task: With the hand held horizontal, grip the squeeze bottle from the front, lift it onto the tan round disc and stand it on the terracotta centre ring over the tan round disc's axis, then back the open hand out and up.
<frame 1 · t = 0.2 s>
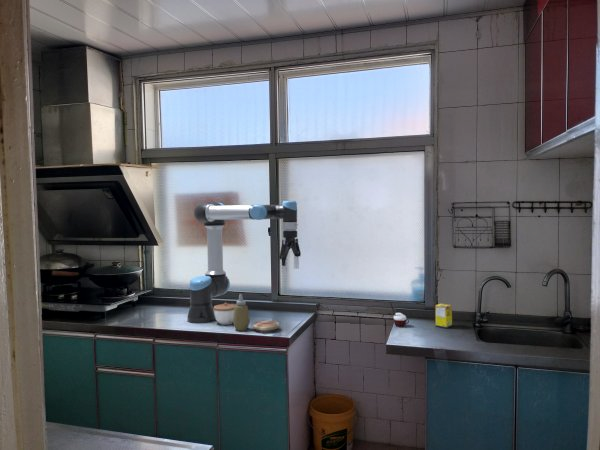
hand: (290, 270, 240), 28 cm above the countertop, tool pointing down, fingers open, 13 cm apart
cocoa: (399, 326, 230), on the countertop
lidded bowl: (226, 323, 242), on the countertop
squeeze bottle: (241, 329, 228), on the countertop
supplement box: (443, 326, 227), on the countertop
tan round disc: (266, 326, 227), point 2 cm above the countertop, hinge at 0.0°
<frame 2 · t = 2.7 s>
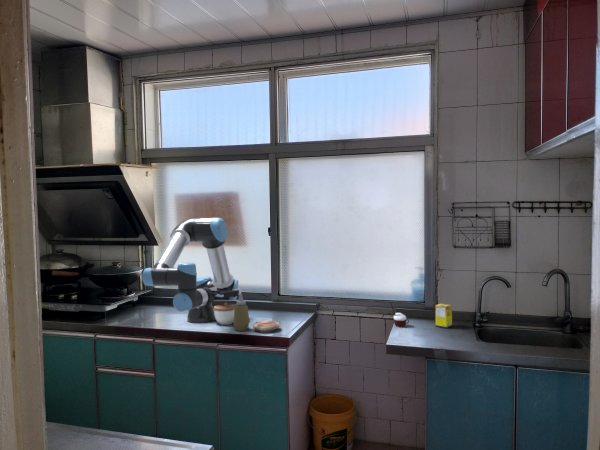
hand: (228, 290, 217), 22 cm above the countertop, tool horizontal, fingers open, 13 cm apart
nothing on the countertop moved.
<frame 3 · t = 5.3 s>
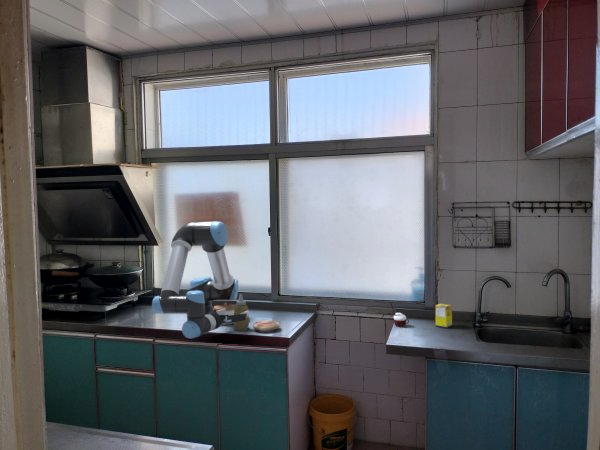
hand: (236, 312, 224), 10 cm above the countertop, tool horizontal, fingers open, 13 cm apart
nothing on the countertop moved.
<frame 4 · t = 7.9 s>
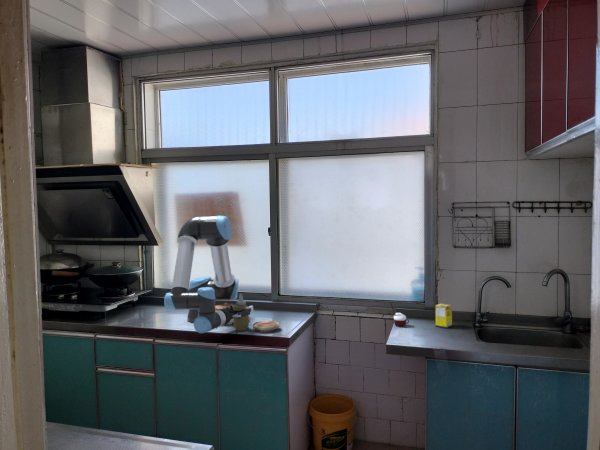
hand: (246, 307, 232), 10 cm above the countertop, tool horizontal, fingers closed on squeeze bottle, 6 cm apart
squeeze bottle: (241, 329, 228), on the countertop, touching gripper
everything else where it was.
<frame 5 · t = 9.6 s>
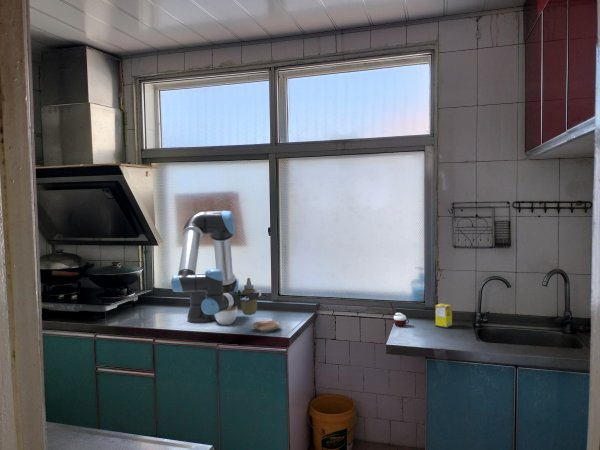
hand: (254, 292, 231), 18 cm above the countertop, tool horizontal, fingers closed on squeeze bottle, 6 cm apart
squeeze bottle: (249, 314, 226), point 8 cm above the countertop, touching gripper
everything else where it was.
when the fingers open (14 cm above the countertop, at t = 11.7 s): squeeze bottle drops 1 cm, resting on tan round disc.
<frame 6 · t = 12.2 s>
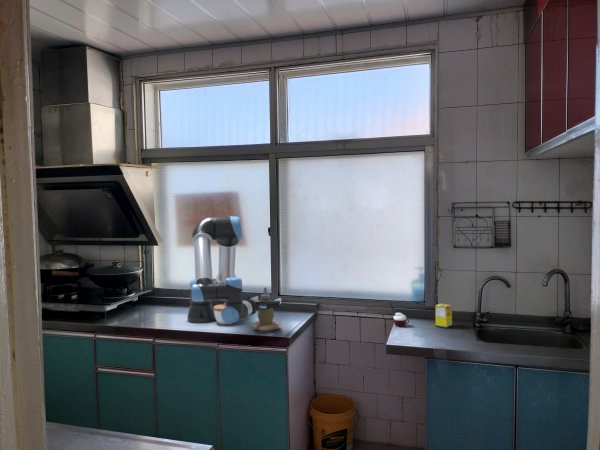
hand: (269, 299, 229), 14 cm above the countertop, tool horizontal, fingers open, 13 cm apart
squeeze bottle: (266, 323, 226), point 3 cm above the countertop, touching tan round disc
tan round disc: (266, 326, 227), point 2 cm above the countertop, hinge at 0.0°, touching squeeze bottle
everything else where it was.
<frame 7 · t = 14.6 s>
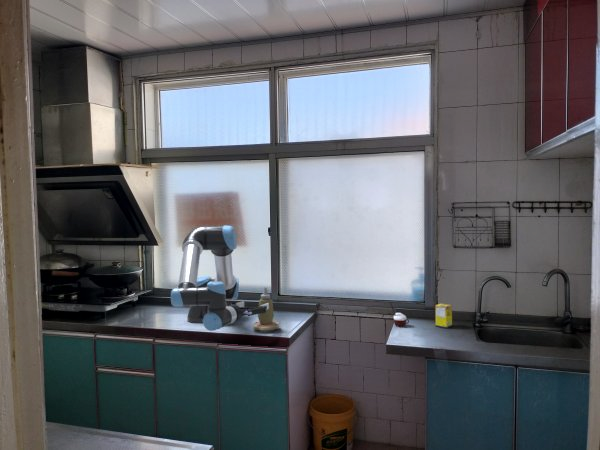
hand: (255, 304, 217), 15 cm above the countertop, tool horizontal, fingers open, 13 cm apart
nothing on the countertop moved.
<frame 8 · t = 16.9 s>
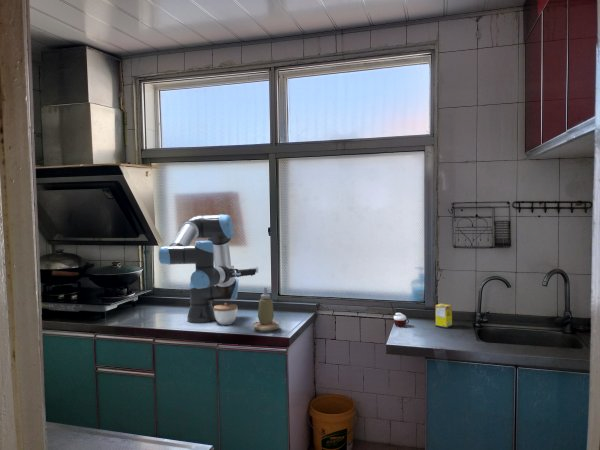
hand: (245, 268, 217), 32 cm above the countertop, tool horizontal, fingers open, 13 cm apart
nothing on the countertop moved.
at the end: squeeze bottle 0.1 cm off-centre on the tan round disc, point 3.1 cm above the tan round disc's base; squeeze bottle tilted 0°; the gripper is holding nothing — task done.
